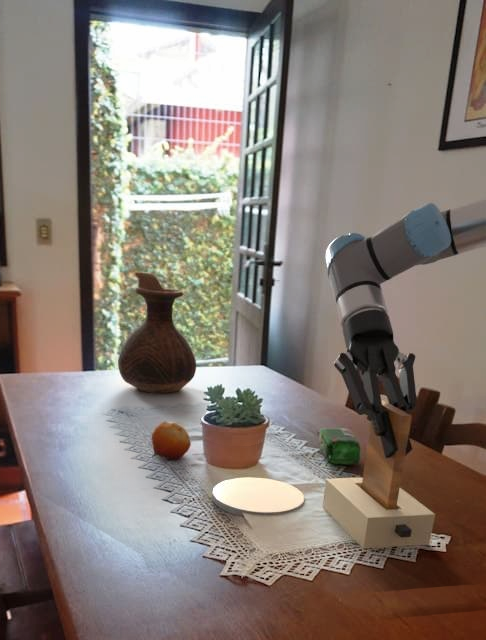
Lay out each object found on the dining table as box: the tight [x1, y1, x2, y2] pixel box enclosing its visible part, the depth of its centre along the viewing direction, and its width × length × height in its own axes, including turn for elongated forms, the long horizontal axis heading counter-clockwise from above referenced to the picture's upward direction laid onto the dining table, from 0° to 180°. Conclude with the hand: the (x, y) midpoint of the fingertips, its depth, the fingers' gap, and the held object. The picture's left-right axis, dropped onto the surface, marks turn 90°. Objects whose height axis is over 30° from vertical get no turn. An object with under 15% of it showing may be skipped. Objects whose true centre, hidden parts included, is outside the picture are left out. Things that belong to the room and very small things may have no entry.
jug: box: [117, 271, 197, 394], centre depth 186 cm, size 22×22×30 cm
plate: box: [211, 477, 305, 518], centre depth 119 cm, size 16×16×1 cm
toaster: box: [322, 476, 436, 550], centre depth 108 cm, size 11×18×6 cm, turn 13°
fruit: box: [151, 421, 191, 461], centre depth 137 cm, size 8×8×8 cm
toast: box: [361, 399, 413, 510], centre depth 105 cm, size 2×9×15 cm, turn 13°
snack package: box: [317, 427, 361, 466], centre depth 143 cm, size 7×16×5 cm, turn 0°
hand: (398, 453), depth 101 cm, fingers closed on toast, 2 cm apart
